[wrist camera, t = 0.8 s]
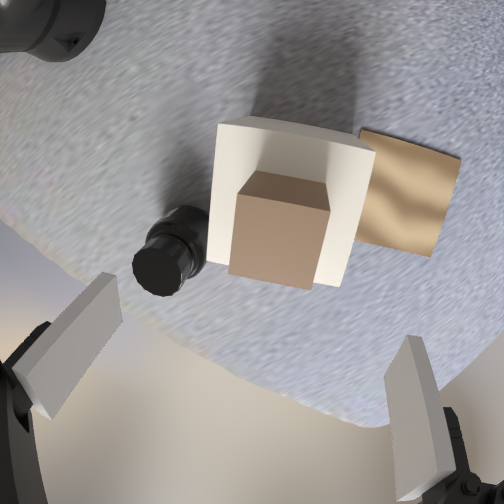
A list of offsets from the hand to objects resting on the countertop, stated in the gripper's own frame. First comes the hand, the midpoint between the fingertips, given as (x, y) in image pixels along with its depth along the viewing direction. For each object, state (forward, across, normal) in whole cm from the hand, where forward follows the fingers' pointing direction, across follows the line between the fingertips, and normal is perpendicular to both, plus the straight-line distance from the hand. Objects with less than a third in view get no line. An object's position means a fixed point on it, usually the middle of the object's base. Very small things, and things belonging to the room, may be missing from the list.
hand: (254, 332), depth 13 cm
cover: (+31, 0, 0) cm, 31 cm away
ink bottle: (+31, -14, -12) cm, 36 cm away
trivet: (+31, +15, 0) cm, 34 cm away
